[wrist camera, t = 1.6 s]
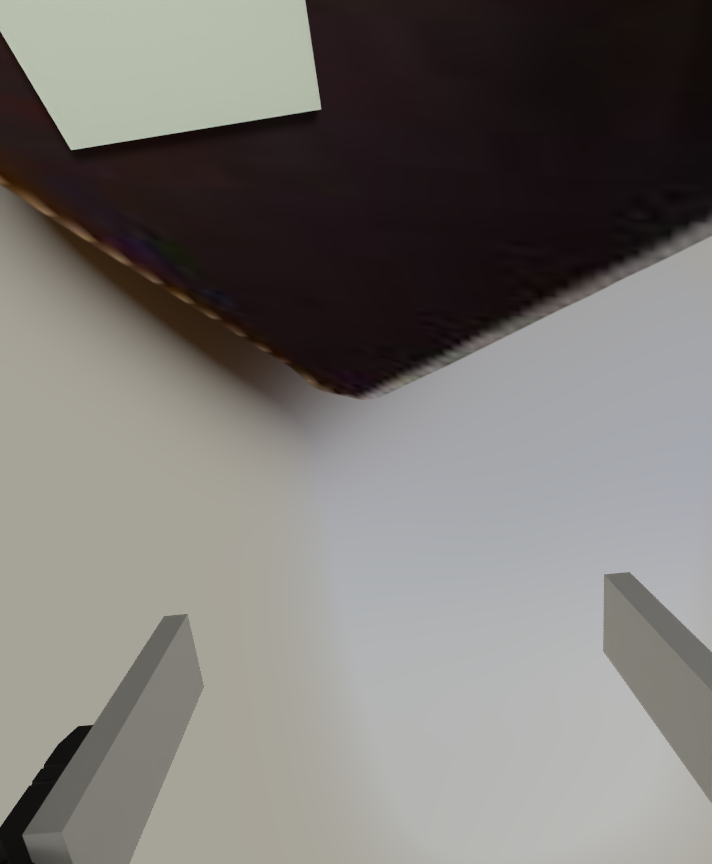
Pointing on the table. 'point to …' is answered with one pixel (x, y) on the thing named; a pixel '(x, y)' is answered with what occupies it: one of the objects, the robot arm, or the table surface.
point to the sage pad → (161, 63)
